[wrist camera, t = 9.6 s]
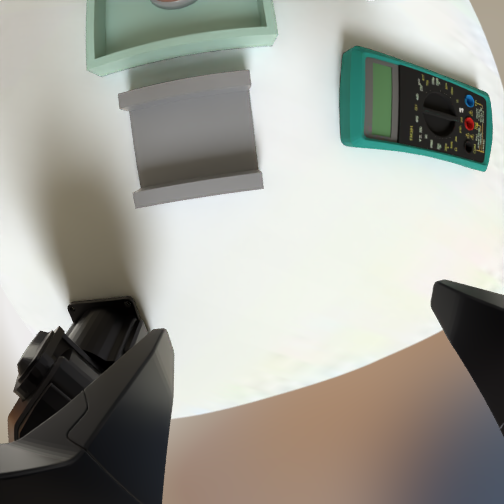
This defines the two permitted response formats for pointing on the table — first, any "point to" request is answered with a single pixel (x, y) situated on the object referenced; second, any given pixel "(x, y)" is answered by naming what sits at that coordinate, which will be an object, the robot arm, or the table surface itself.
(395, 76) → the digital multimeter
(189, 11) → the tray
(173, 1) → the fuse
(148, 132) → the grey cradle stand
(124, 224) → the table surface
